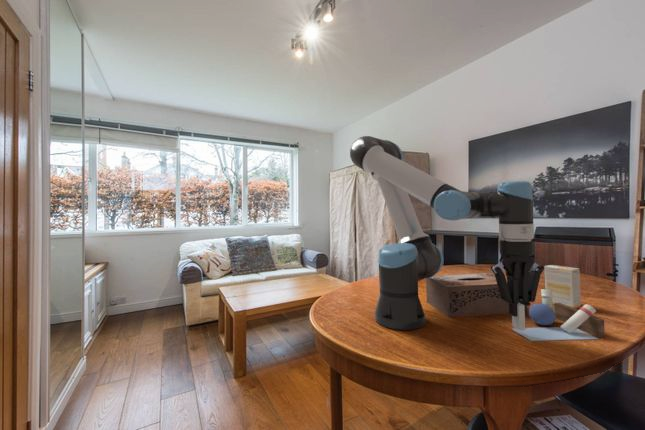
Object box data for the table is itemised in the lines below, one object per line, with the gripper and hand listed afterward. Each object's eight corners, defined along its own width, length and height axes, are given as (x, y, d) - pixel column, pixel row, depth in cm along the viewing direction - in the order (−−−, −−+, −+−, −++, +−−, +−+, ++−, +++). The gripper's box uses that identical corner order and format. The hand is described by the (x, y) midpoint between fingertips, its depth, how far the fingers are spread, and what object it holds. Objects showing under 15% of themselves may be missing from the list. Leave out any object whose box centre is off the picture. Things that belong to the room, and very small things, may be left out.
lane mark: (530, 341, 68) (530, 340, 68) (511, 329, 75) (511, 328, 75) (598, 339, 68) (598, 338, 67) (572, 327, 74) (572, 326, 74)
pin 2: (566, 328, 70) (591, 305, 70) (558, 324, 72) (582, 302, 72) (572, 335, 70) (598, 313, 70) (564, 331, 72) (589, 309, 72)
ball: (565, 317, 74) (553, 314, 72) (549, 331, 77) (536, 328, 74) (546, 300, 79) (534, 297, 77) (531, 314, 82) (519, 310, 79)
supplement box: (582, 307, 89) (580, 268, 89) (573, 309, 87) (572, 269, 87) (553, 300, 97) (552, 264, 97) (544, 302, 95) (543, 265, 95)
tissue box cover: (492, 299, 101) (491, 272, 101) (524, 313, 86) (523, 282, 86) (426, 303, 99) (426, 276, 99) (448, 318, 84) (447, 286, 84)
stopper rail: (598, 337, 68) (598, 319, 68) (555, 317, 81) (554, 302, 81) (604, 337, 68) (604, 319, 68) (559, 317, 81) (559, 302, 81)
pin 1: (548, 322, 77) (545, 290, 79) (541, 320, 80) (538, 289, 81) (557, 322, 77) (553, 290, 79) (550, 320, 80) (546, 289, 81)
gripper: (501, 242, 67) (503, 334, 67) (552, 240, 67) (555, 333, 67) (483, 239, 75) (485, 322, 75) (529, 237, 75) (532, 321, 75)
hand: (518, 327), depth 71 cm, fingers closed
